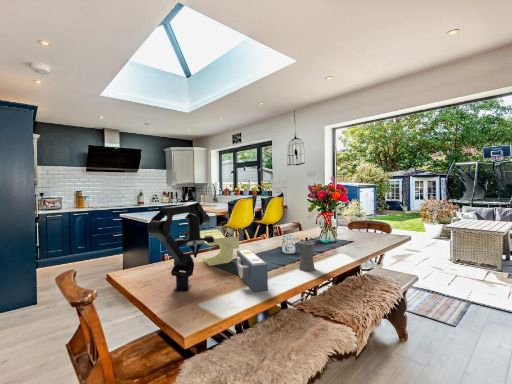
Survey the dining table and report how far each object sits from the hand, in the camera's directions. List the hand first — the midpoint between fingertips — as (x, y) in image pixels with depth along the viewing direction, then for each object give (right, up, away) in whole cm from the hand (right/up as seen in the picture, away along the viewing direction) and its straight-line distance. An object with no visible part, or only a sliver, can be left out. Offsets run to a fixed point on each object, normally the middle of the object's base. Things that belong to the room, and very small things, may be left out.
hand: (195, 257), depth 135 cm
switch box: (+28, -12, +1) cm, 30 cm away
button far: (+24, -7, +7) cm, 26 cm away
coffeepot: (+59, -11, +19) cm, 63 cm away
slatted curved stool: (+6, -11, +36) cm, 38 cm away
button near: (+26, -7, -7) cm, 28 cm away
